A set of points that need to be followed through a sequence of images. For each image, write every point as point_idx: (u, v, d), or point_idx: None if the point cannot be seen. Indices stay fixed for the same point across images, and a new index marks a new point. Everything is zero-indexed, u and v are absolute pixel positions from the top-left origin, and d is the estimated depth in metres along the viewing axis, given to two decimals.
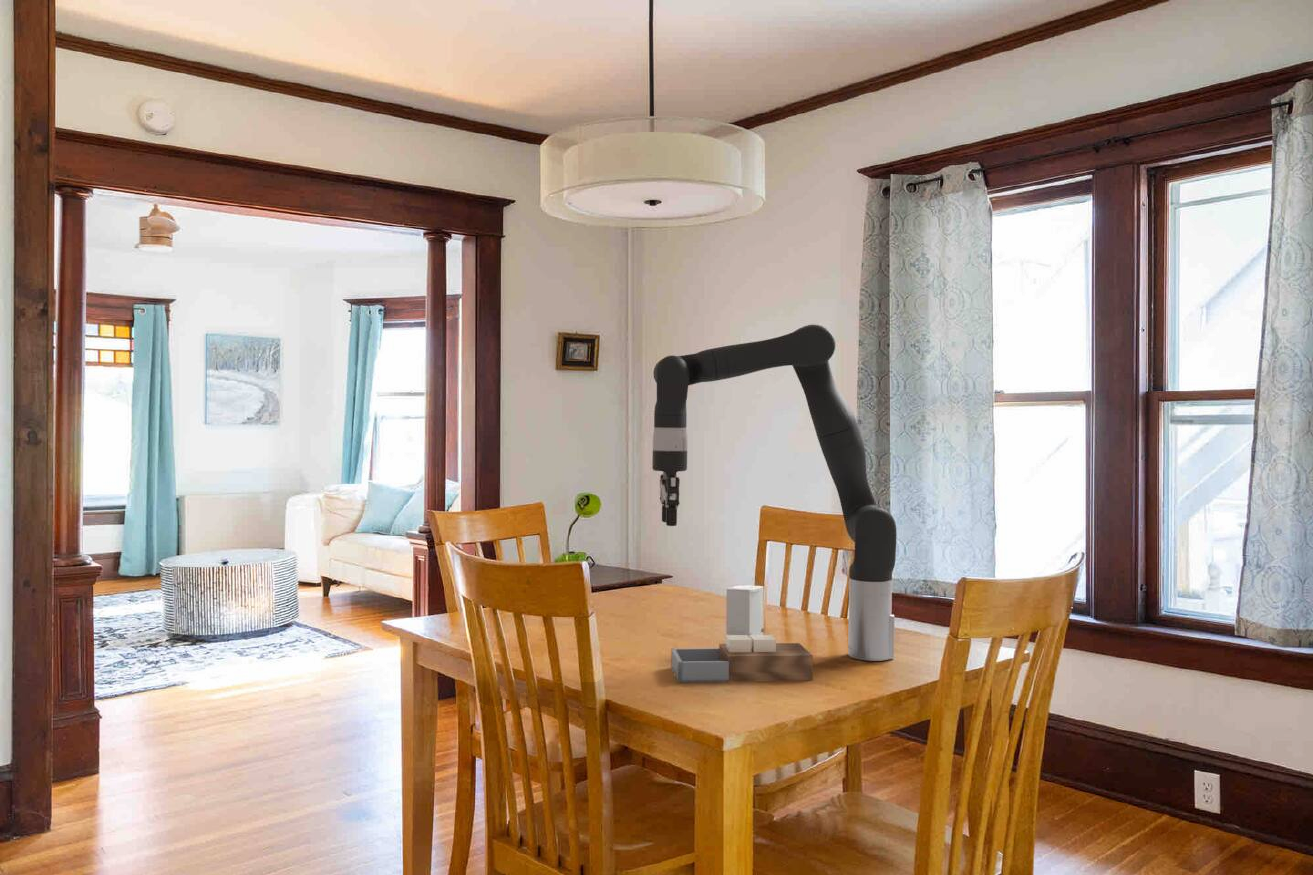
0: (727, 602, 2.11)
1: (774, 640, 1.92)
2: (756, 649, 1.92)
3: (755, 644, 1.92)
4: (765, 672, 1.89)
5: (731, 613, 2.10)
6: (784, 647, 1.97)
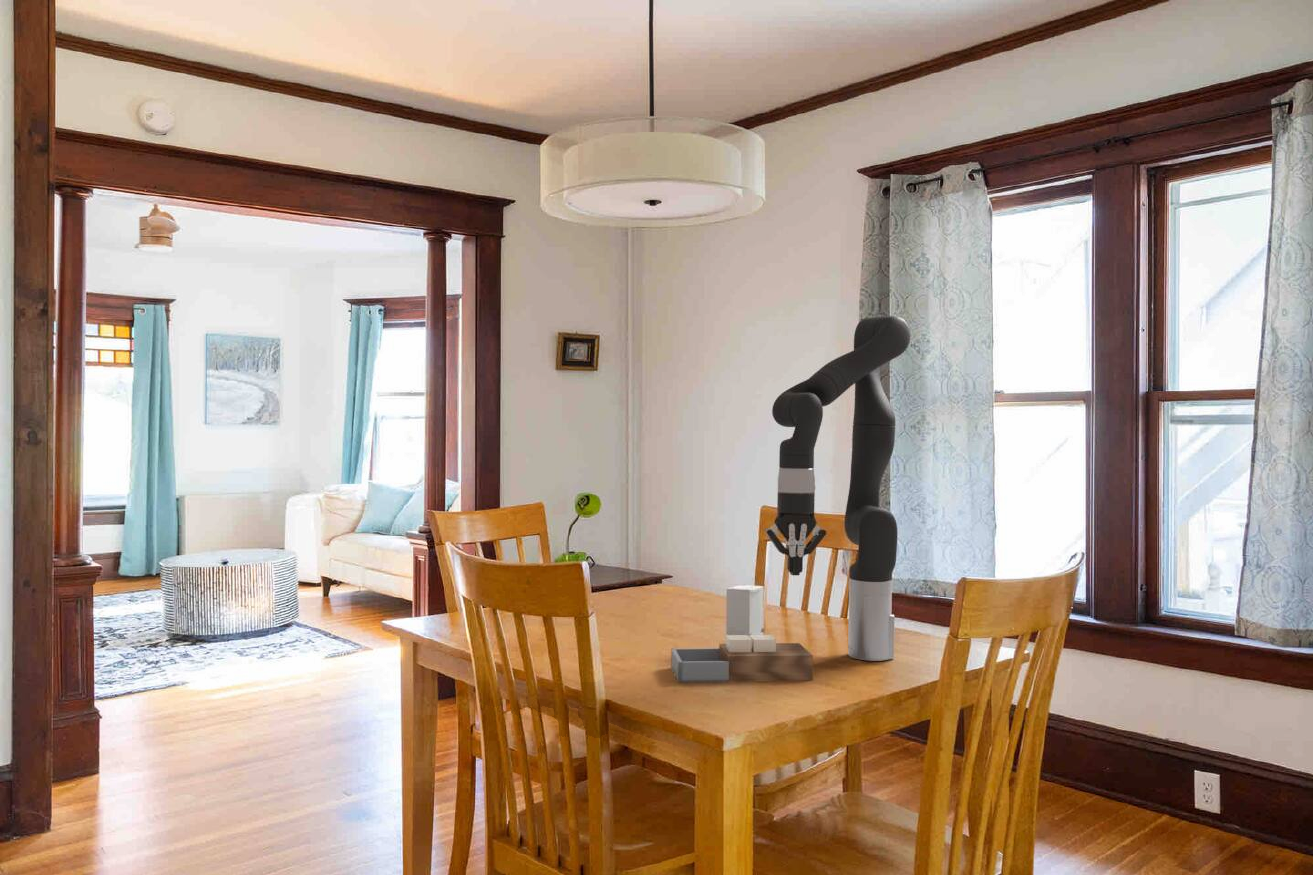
0: (727, 602, 2.11)
1: (774, 640, 1.92)
2: (756, 649, 1.92)
3: (755, 644, 1.92)
4: (765, 672, 1.89)
5: (731, 613, 2.10)
6: (784, 647, 1.97)
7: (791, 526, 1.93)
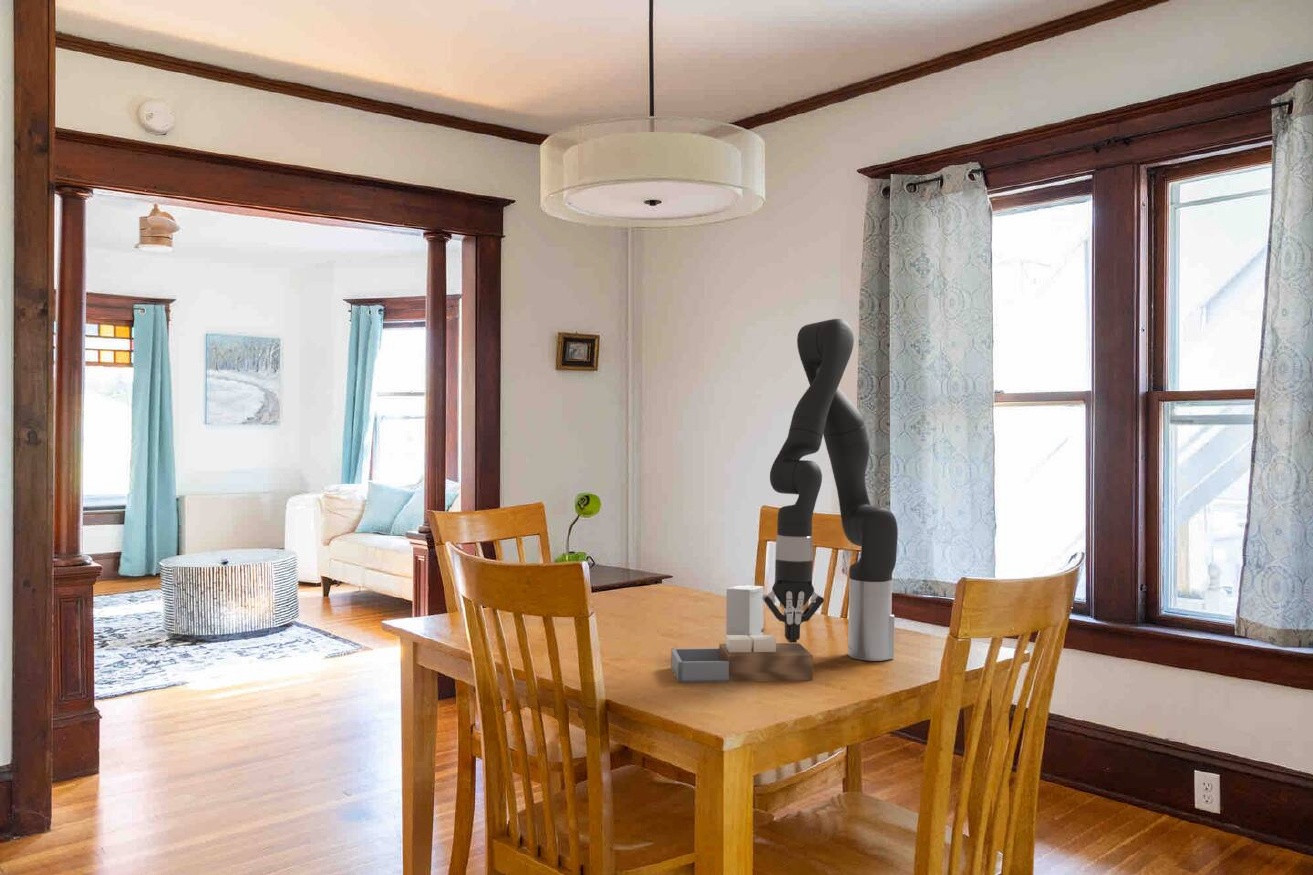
0: (727, 602, 2.11)
1: (774, 640, 1.92)
2: (756, 649, 1.92)
3: (755, 644, 1.92)
4: (765, 672, 1.89)
5: (731, 613, 2.10)
6: (784, 647, 1.97)
7: (788, 594, 1.93)
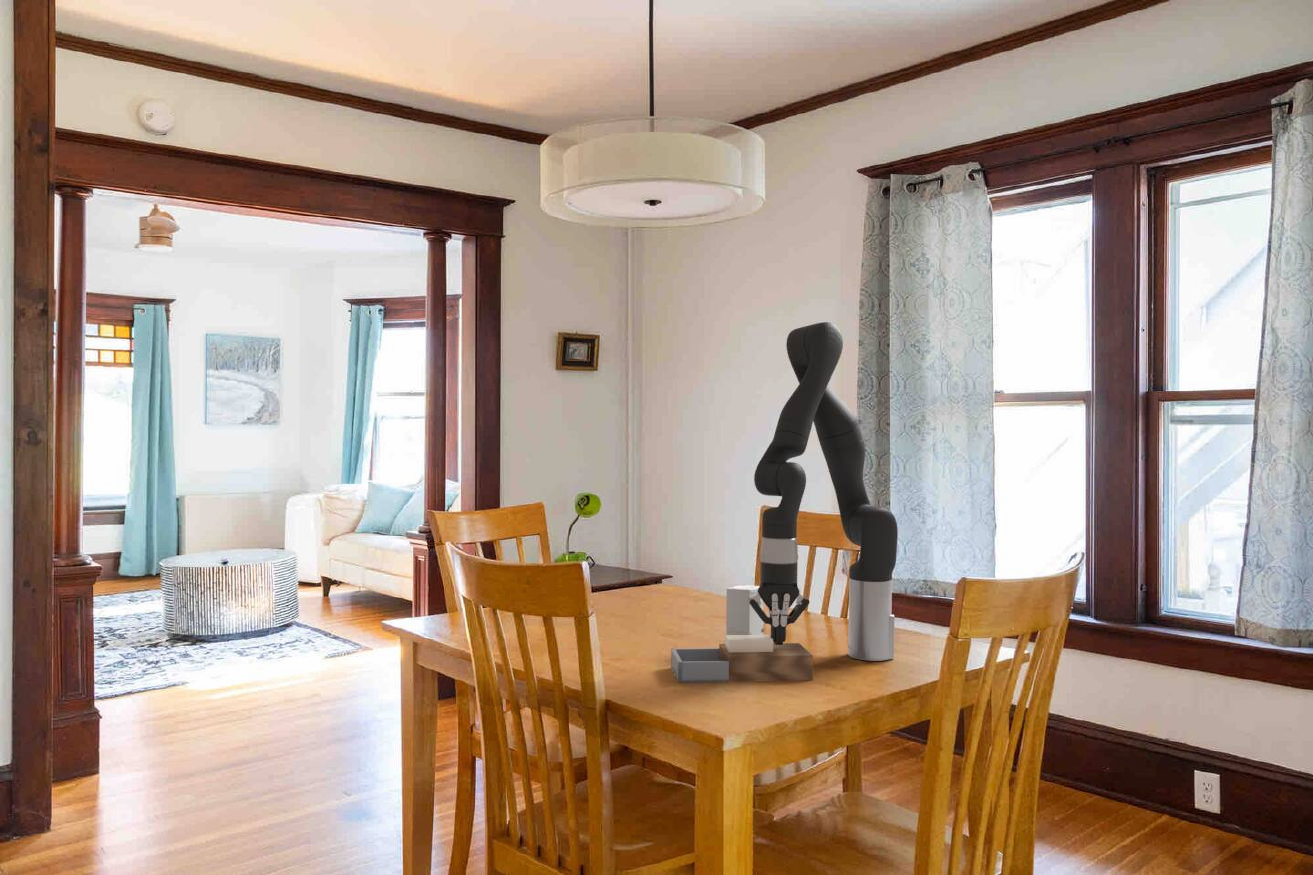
0: (727, 602, 2.11)
1: (771, 640, 1.92)
2: (753, 649, 1.92)
3: (752, 644, 1.92)
4: (765, 672, 1.89)
5: (731, 613, 2.10)
6: (784, 647, 1.97)
7: (774, 596, 1.93)
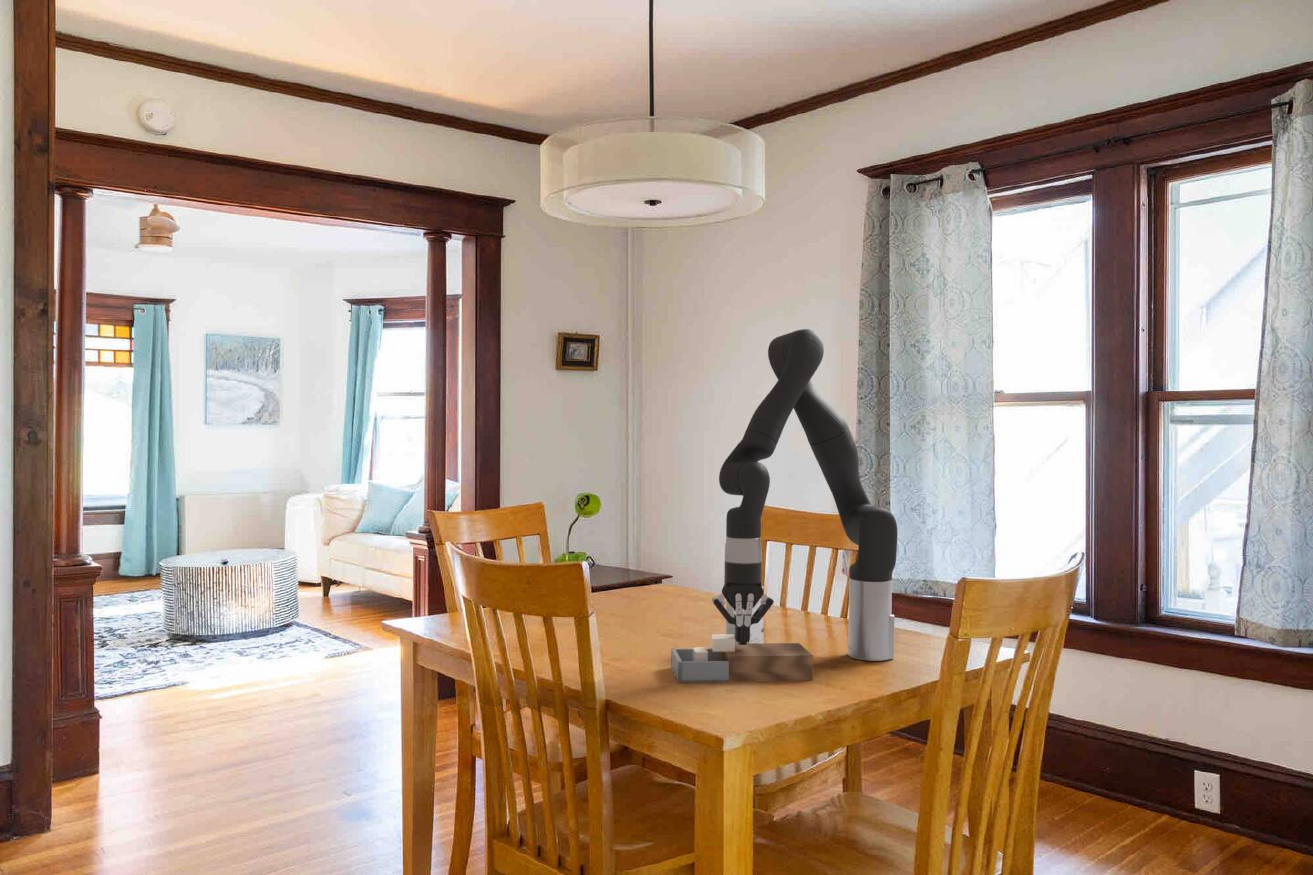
0: (727, 602, 2.11)
1: (733, 640, 1.92)
2: (715, 649, 1.92)
3: (714, 644, 1.92)
4: (765, 672, 1.89)
5: (731, 613, 2.10)
6: (784, 647, 1.97)
7: (738, 596, 1.92)
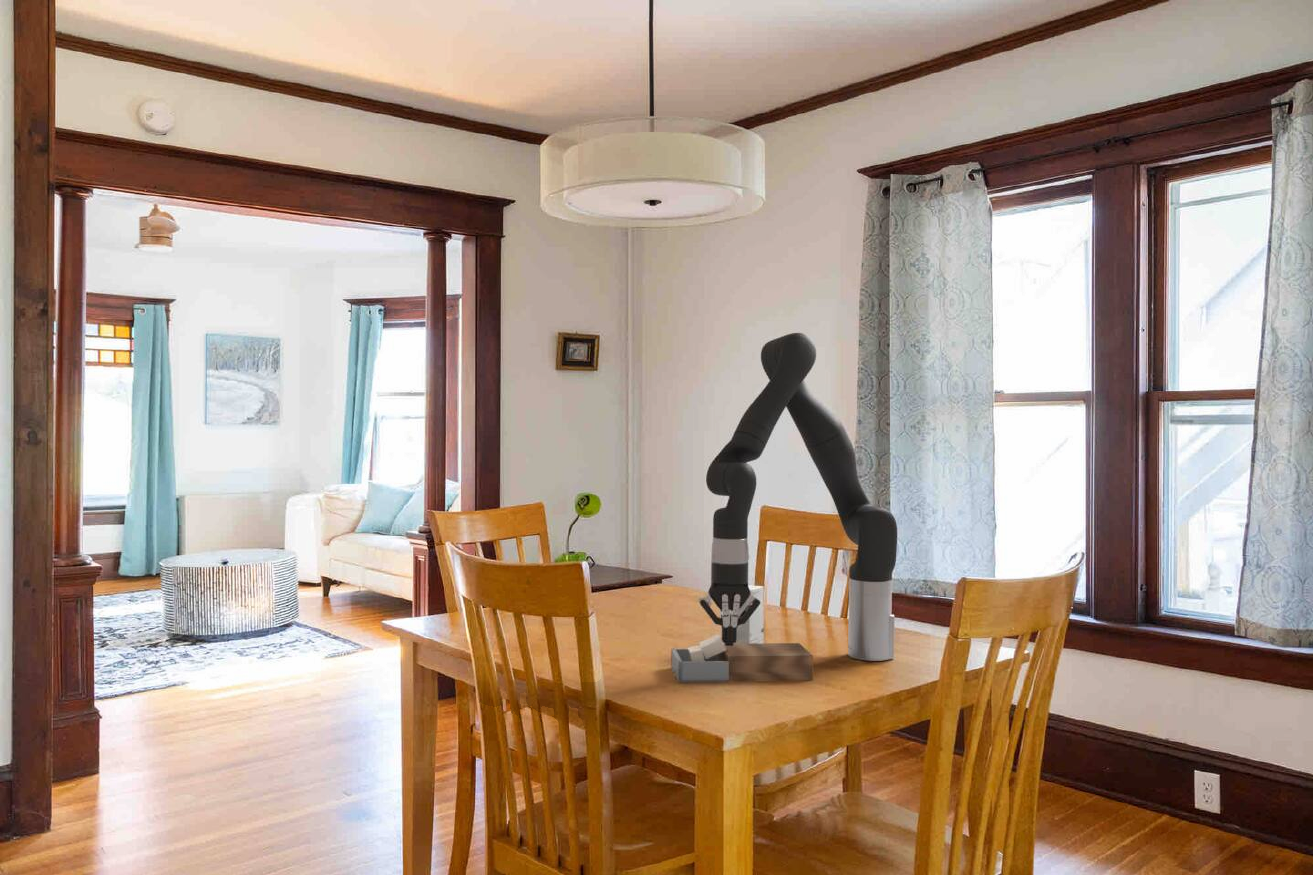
0: None
1: (720, 640, 1.93)
2: (707, 655, 1.93)
3: (704, 651, 1.92)
4: (765, 672, 1.89)
5: None
6: (784, 647, 1.97)
7: (724, 597, 1.92)
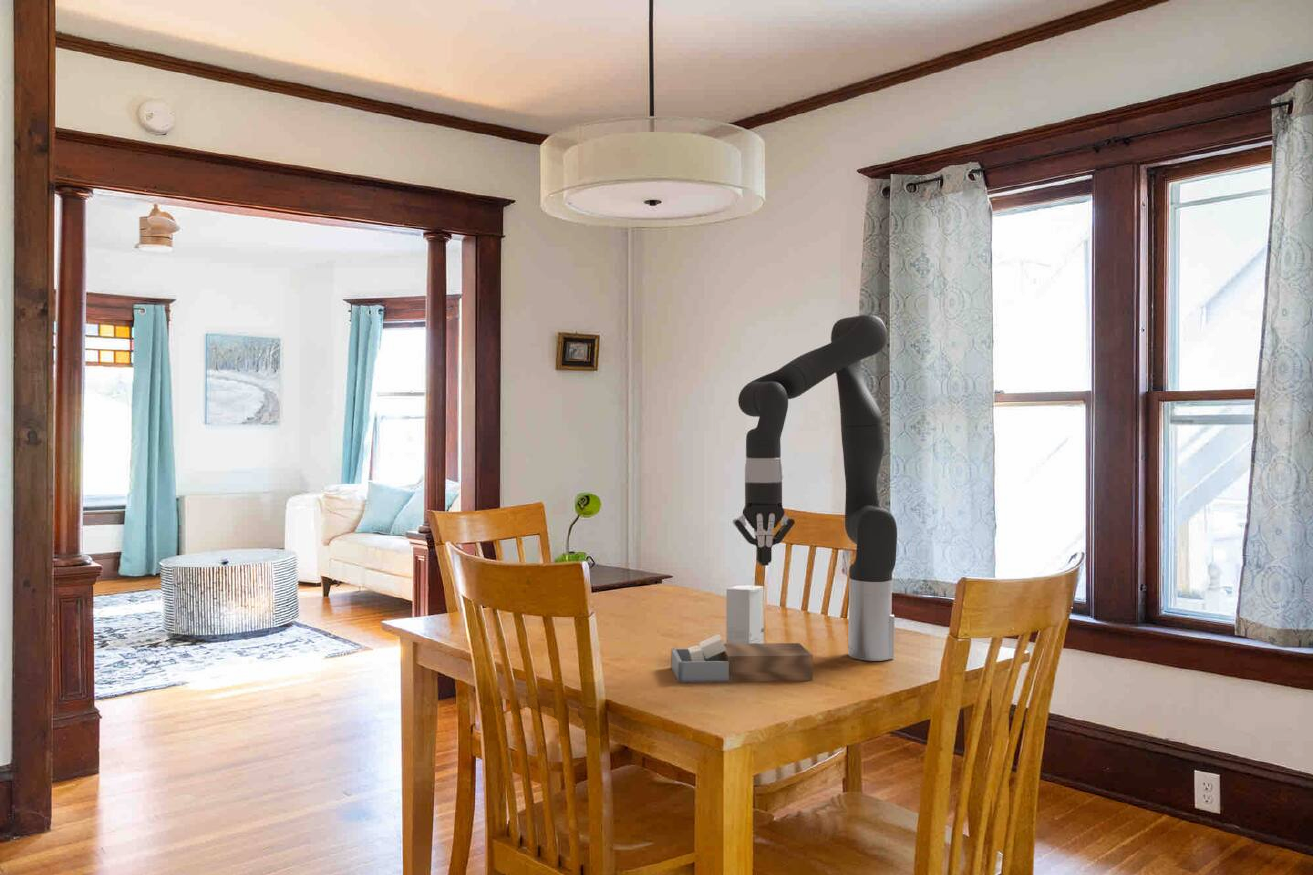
0: (727, 602, 2.11)
1: (720, 640, 1.93)
2: (707, 655, 1.93)
3: (704, 651, 1.92)
4: (765, 672, 1.89)
5: (731, 613, 2.10)
6: (784, 647, 1.97)
7: (759, 516, 1.92)
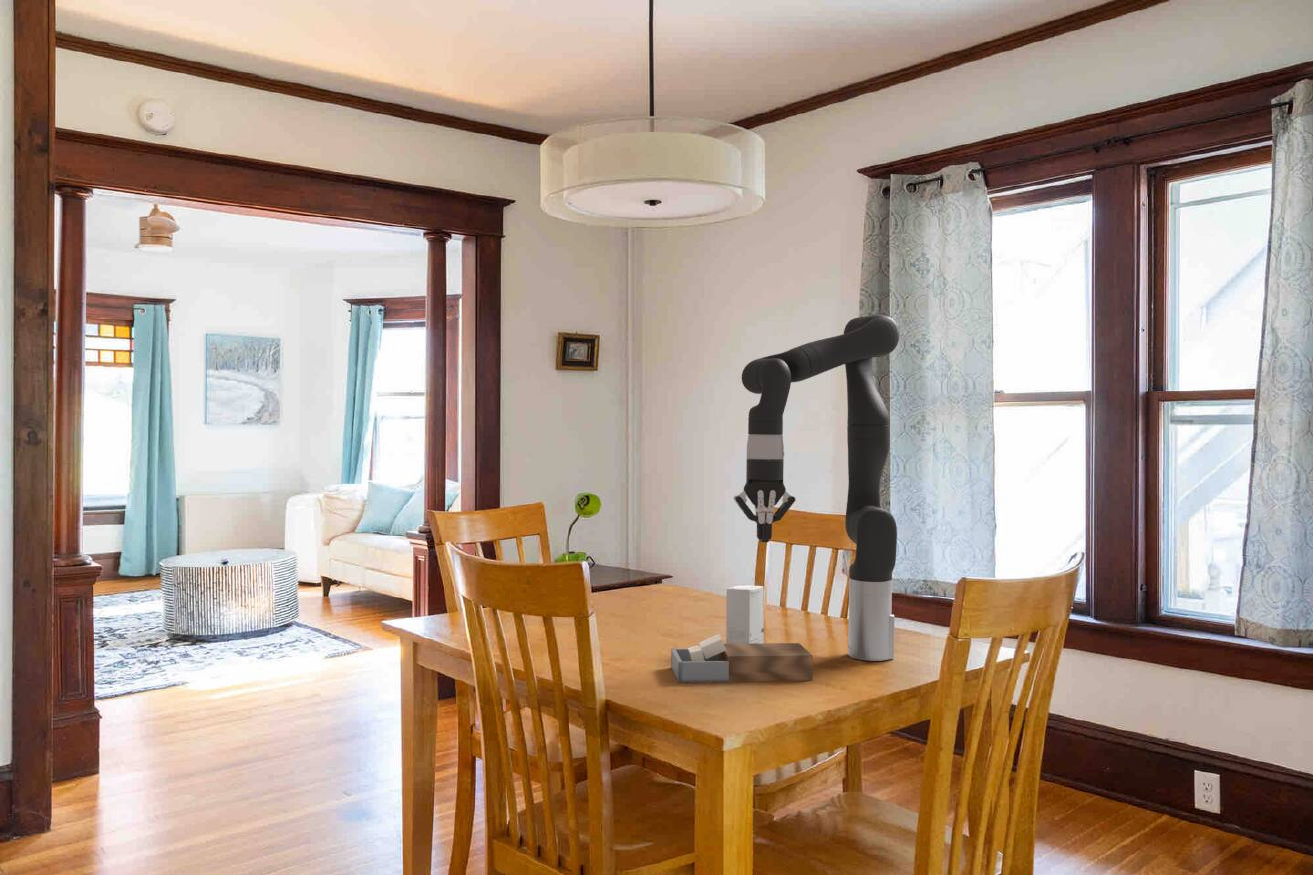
0: (727, 602, 2.11)
1: (720, 640, 1.93)
2: (707, 655, 1.93)
3: (704, 651, 1.92)
4: (765, 672, 1.89)
5: (731, 613, 2.10)
6: (784, 647, 1.97)
7: (760, 493, 1.92)
